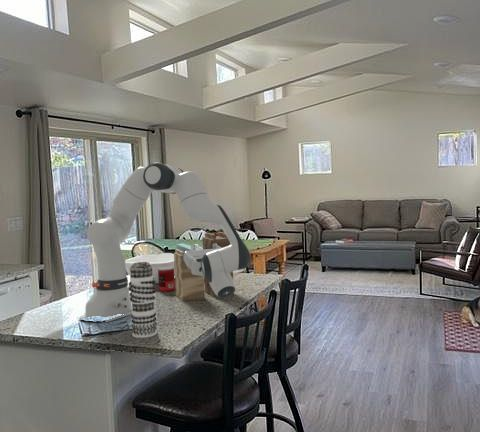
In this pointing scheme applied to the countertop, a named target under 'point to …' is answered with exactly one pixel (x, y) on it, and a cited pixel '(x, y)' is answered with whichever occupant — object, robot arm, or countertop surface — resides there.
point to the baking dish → (153, 262)
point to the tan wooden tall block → (187, 280)
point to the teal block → (184, 247)
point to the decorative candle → (142, 300)
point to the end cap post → (208, 244)
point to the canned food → (166, 279)
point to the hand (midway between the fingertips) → (203, 245)
